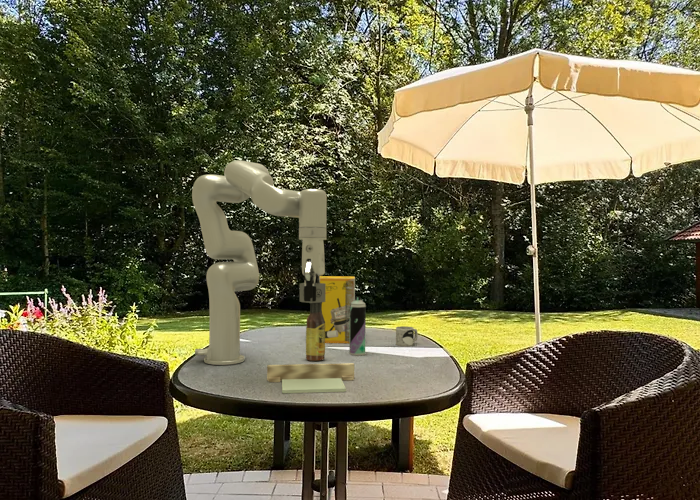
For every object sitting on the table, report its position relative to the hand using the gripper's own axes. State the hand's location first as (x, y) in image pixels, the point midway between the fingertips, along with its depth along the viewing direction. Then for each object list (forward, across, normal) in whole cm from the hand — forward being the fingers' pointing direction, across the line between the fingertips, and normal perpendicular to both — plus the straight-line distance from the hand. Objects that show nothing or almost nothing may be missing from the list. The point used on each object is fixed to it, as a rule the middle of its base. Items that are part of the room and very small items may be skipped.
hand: (312, 299), depth 147 cm
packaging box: (+22, +66, +3) cm, 70 cm away
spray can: (+22, +38, -9) cm, 45 cm away
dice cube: (+1, 0, 0) cm, 1 cm away
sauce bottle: (+22, +27, +4) cm, 35 cm away
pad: (+22, -7, -2) cm, 23 cm away
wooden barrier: (+22, +1, 0) cm, 22 cm away
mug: (+22, +60, -26) cm, 69 cm away
